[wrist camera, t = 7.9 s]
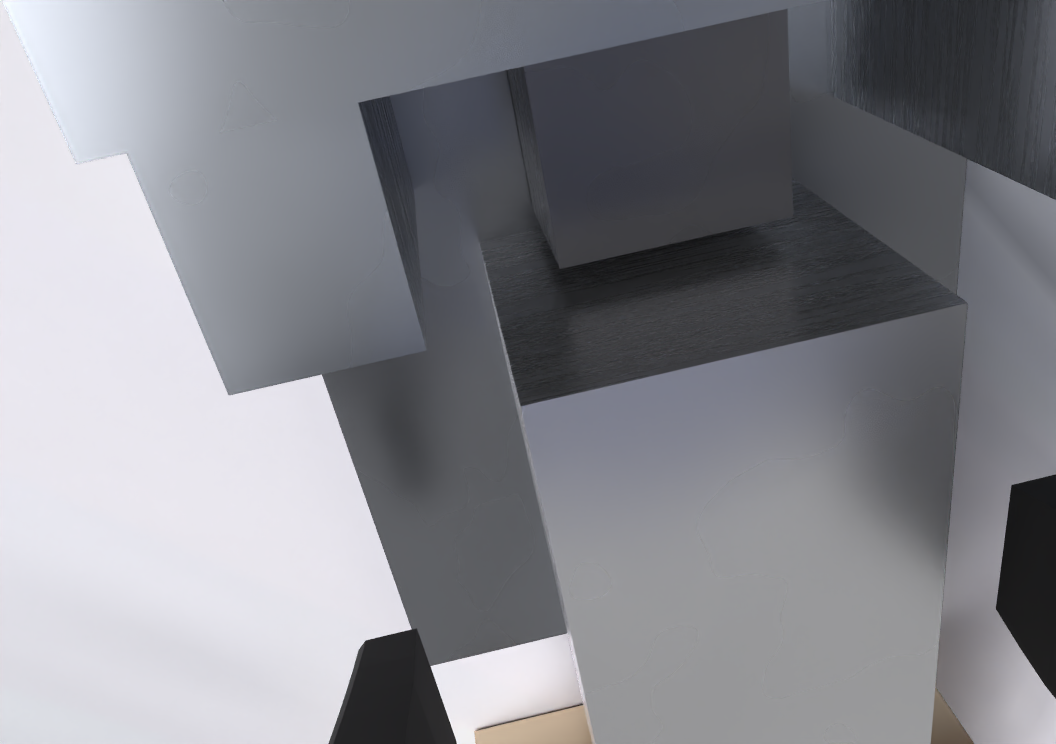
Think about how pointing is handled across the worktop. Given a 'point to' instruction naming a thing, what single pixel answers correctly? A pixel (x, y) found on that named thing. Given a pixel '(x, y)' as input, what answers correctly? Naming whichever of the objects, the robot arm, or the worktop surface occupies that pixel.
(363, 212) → the socket
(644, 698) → the tall gray pillar
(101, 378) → the worktop surface
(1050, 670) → the robot arm
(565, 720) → the rack
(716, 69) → the dark gray rectangular block
